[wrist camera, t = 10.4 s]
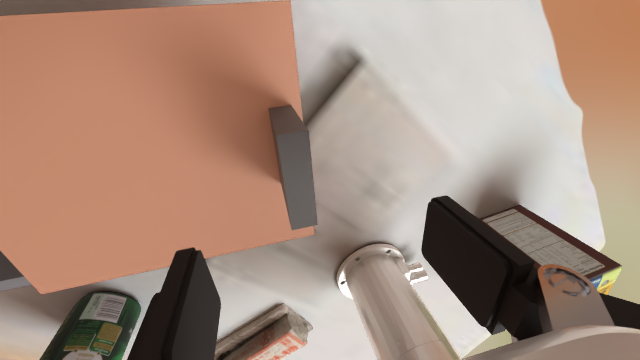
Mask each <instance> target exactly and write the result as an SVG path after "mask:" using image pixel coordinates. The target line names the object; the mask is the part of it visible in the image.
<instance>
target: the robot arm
mask: <svg viewBox="0 0 640 360" xmlns="http://www.w3.org/2000/svg"><path fill="white" fill-rule="evenodd" d="M421 250H422V254H423V256H424V258H425V259H426V260H427V261H428V263H429V264H430V265H431V266H432V267H433V269H434V270H435V271H436V272H437V274H438V275H439V276H440V277H441V278H442V280H443V281H444V282H445V283H446V284H447V286H448V287H449V288H450V289H451V291H452V292H453V293H454V294H455V295H456V297H457V298H458V299H459V300H460V301H461V303H462V304H463V305H464V306H465V308H466V309H467V310H468V311H469V312H470V314H471V315H472V316H473V317H474V318H475V320H476V321H477V322H478V323H479V324H480V325H481V326H483V327H486V328H487V330H488V331H489V332H490V333H491V334H492V335H493V334H497V333H500V332H503V331H505V329H507V331H508V332H509V333H510V334H511V337H512V343H511V344H508V345H505V346H502V347H498V348H496V349H492V350H489V351H486V352H483V353H480V354H477V355H474V356H471V357H467V358H465V359H461V357H460V356H459V354H458V353H457V351H456V350H455V349H454V347H453V346H452V344H451V343H450V341H449V340H448V338H447V337H446V335H445V334H444V332H443V331H442V329H441V328H440V326H439V325H438V323H437V322H436V320H435V319H434V317H433V316H432V314H431V313H430V311H429V310H428V308H427V307H426V305H425V304H424V302H423V301H422V299H421V298H420V296H419V295H418V293H417V292H416V290H415V289H414V287H413V286H412V284H413V283H419V282H422V281H426V280H427V279H428V276H427V273H426V272H425V270H423V269H422V265H421V264H420V263H415V264H412V265H409V266H408V265H407V264H406V265H405V260H404V257H403V255H402V254H401V252H400V251H399V250H398V249H397V248H396V247H394V246H392V245H389V244H373V245H369V246H366V247H363V248H361V249H359V250H357V251H355V252H354V253H353V254H351V255H350V256H349V257H348V258H347V259H346V260H345V261H344V262H343V263H342V265H341V266H340V268H339V270H338V273H337V284H338V287H339V289H340V291H341V292H342V294H344V295H345V296H347V297H349V298H352V299H353V301H354V303H355V305H356V308H357V310H358V313H359V315H360V318H361V320H362V323H363V325H364V328H365V330H366V333H367V335H368V338H369V340H370V342H371V345H372V347H373V350H374V352H375V355H376V357H377V360H640V304H636V303H633V302H630V301H626V300H623V299H619V298H616V297H613V296H609V295H606V294H603V293H599V292H598V290H597V288H596V287H595V286H594V284H593V283H592V282H591V281H590V280H588V279H587V278H586V277H585V276H583V275H581V274H580V273H578V272H576V271H574V270H572V269H570V268H567V267H564V266H560V265H554V264H547V265H543V266H540V268H539V269H536V268H535V267H534V266H533V265H534V263H535V261H533V260H532V259H531V258H530V257H528V256H527V255H526V254H524V253H523V252H522V251H520V250H519V249H518V248H516V247H515V246H514V245H512V244H511V243H510V242H508V241H507V240H506V239H504V238H503V237H502V236H500V235H499V234H498V233H496V232H495V231H494V230H492V229H491V228H490V227H488V226H487V225H486V224H484V223H483V222H482V221H480V220H479V219H478V218H476V217H475V216H474V215H472V214H471V213H470V212H468V211H467V210H466V209H464V208H463V207H462V206H460V205H459V204H458V203H456V202H455V201H454V200H452V199H451V198H450V197H448V196H441V197H436V198H433V199H432V200H431V202H429V204H428V208H427V215H426V221H425V228H424V235H423V242H422V249H421ZM220 309H221V302H220V297H219V295H218V292H217V289H216V287H215V284H214V282H213V279H212V277H211V274H210V271H209V269H208V266H207V264H206V261H205V259H204V256H203V254H202V251H201V250H197V251H196V249H195V248H194V247H192V248H187V249H182V250H178V251H176V253H175V255H174V258H173V260H172V263H171V265H170V268H169V271H168V273H167V276H166V279H165V281H164V284H163V286H162V289H161V292H160V293H156V294H155V295H154V296H153V298H152V300H151V302H150V304H149V307H148V309H147V312H146V314H145V317H144V319H143V322H142V324H141V327H140V329H139V332H138V334H137V337H136V339H135V341H134V344H133V346H132V349H131V351H130V354H129V356H128V359H127V360H214V357H215V349H216V341H217V333H218V325H219V317H220Z"/></svg>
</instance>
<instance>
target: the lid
mask: <svg viewBox="0 0 640 360" xmlns="http://www.w3.org/2000/svg"><path fill="white" fill-rule="evenodd" d="M315 225H317V215H316V204H315V194H314V183H313V173H312V162H311V152H310V141H309V131H308V129H307V128H306V126H305V125H304V123H303V117H302V108H301V98H300V89H299V79H298V70H297V60H296V50H295V41H294V31H293V22H292V12H291V3H290V0H286V1H268V2H249V3H230V4H212V5H193V6H175V7H156V8H138V9H119V10H100V11H82V12H63V13H45V14H26V15H8V16H0V251H1V252H2V253H3V254H4V255H5V256H6V257H7V258H8V259H9V261H10V262H11V263H12V264H13V265H14V266H15V267H16V268H17V269H18V270H19V271H20V272H21V273H22V275H23V276H24V277H25V278H26V279H27V280H28V281H29V282H30V283H31V284H32V285H33V286H34V287H35V288H36V290H37V291H38V292H39V293H40V294H41V295H42V294H46V293H51V292H55V291H60V290H64V289H69V288H73V287H78V286H83V285H87V284H92V283H96V282H101V281H105V280H110V279H114V278H119V277H123V276H128V275H132V274H137V273H142V272H146V271H151V270H155V269H160V268H164V267H169V266H170V265H171V263H172V260H173V258H174V255H175V253H176V251H178V250H182V249H187V248H192V247H194V248H195V249H196V251H197V250H201V251H202V254H203V256H204V259H205V258H210V257H214V256H219V255H223V254H228V253H232V252H237V251H241V250H246V249H250V248H255V247H260V246H264V245H269V244H273V243H278V242H282V241H287V240H291V239H296V238H300V237H305V236H309V235H314V234H315V232H314V226H315Z"/></svg>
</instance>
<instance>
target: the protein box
mask: <svg viewBox="0 0 640 360" xmlns="http://www.w3.org/2000/svg"><path fill="white" fill-rule="evenodd" d="M480 221H482V222H483V223H484V224H486V225H487V226H488V227H490V228H491V229H492V230H494V231H495V232H496V233H498V234H499V235H500V236H502V237H503V238H504V239H506V240H507V241H508V242H510V243H511V244H512V245H514V246H515V247H516V248H518V249H519V250H520V251H522V252H523V253H524V254H526V255H527V256H528V257H530V258H531V259H532V260H533V261H535V263H534V265H533V266H534V267H535V268H536V269H539V268H540V266H543V265H547V264H554V265H560V266H564V267H567V268H570V269H572V270H574V271H576V272H578V273H580V274H581V275H583V276H585V277H586V278H587V279H588V280H590V281H591V282H592V283H593V284H594V286H595V287H596V288H597V290H598V292H599V293H603V294H606V295H607V293H608V292H609V290H610V288H611V286H612V285H613V283H614V282H615V280H616V278H617V276H618V274H619V273H620V271H621V269H622V265H620V264H618V263H617V262H615V261H613V260H611V259H610V258H608V257H607V256H605V255H603V254H602V253H600V252H598V251H597V250H595V249H593V248H592V247H590V246H588V245H586V244H585V243H583V242H582V241H580V240H578V239H576V238H575V237H573V236H571V235H570V234H568V233H566V232H565V231H563V230H561V229H560V228H558V227H556V226H555V225H553V224H551V223H550V222H548V221H546V220H545V219H543V218H541V217H540V216H538V215H536V214H534V213H533V212H531V211H529V210H528V209H526V208H524V207H523V206H521V205H519V206H516V207H513V208H510V209H508V210H505V211H502V212H499V213H497V214H494V215H491V216H488V217H485V218H483V219H480Z"/></svg>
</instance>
